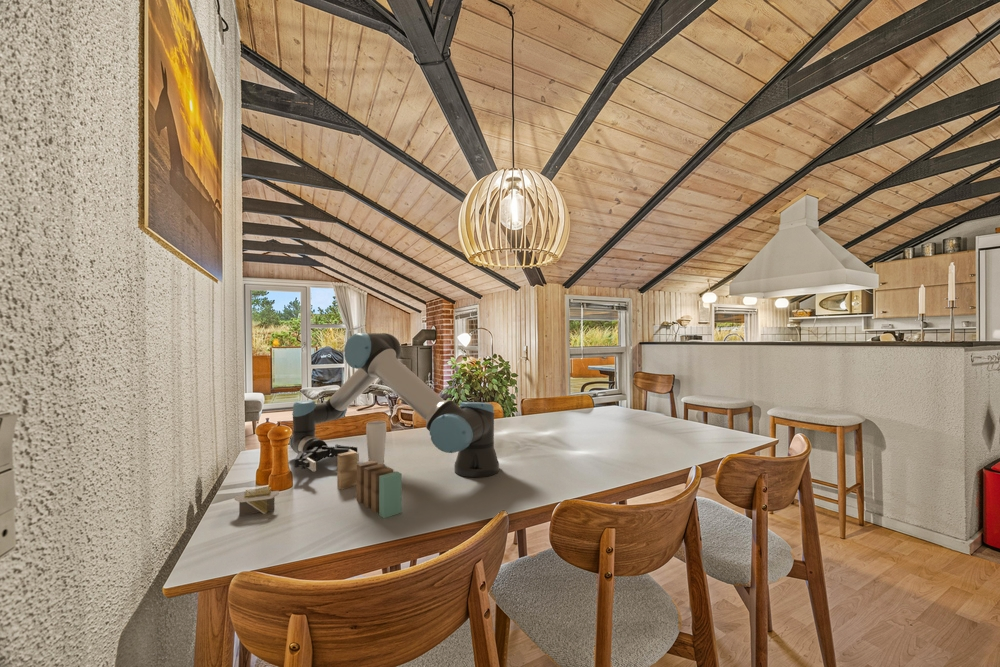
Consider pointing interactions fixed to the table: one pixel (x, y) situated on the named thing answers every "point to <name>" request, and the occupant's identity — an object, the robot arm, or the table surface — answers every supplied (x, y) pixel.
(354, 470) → the domino
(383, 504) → the domino
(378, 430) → the drinking glass
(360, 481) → the domino
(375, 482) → the domino
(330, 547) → the table surface
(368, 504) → the domino
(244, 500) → the platform
